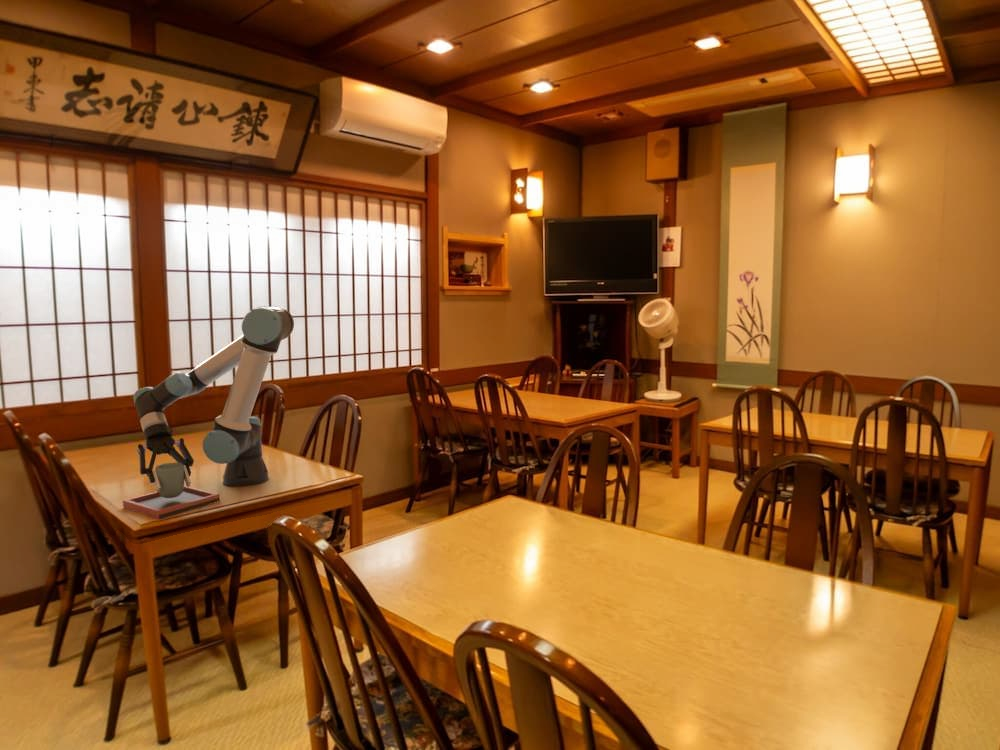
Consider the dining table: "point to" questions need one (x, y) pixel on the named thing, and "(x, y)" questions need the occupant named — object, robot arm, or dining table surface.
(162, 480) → the cup
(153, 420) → the robot arm
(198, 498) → the tray
